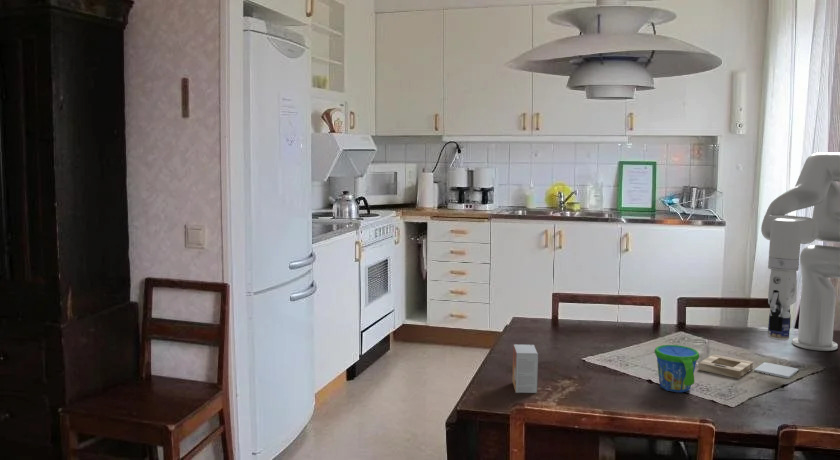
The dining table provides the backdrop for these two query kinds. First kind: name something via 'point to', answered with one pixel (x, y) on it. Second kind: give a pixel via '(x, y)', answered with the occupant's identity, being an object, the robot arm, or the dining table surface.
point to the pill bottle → (785, 327)
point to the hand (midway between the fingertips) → (779, 327)
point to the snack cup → (676, 367)
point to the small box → (525, 368)
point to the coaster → (776, 370)
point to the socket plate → (725, 366)
